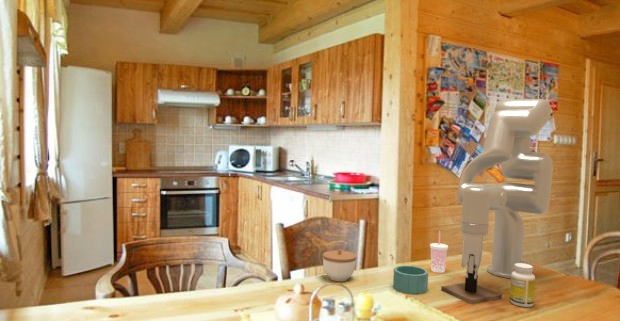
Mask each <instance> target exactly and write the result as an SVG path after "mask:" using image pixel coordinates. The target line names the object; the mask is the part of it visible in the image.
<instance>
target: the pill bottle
mask: <svg viewBox="0 0 620 321" xmlns="http://www.w3.org/2000/svg"><path fill="white" fill-rule="evenodd" d="M533 268H534V267H533V265H529V264H524V263H516V264H515V265H514V269H515V271H513V272H512V274H511V278H510V289H509V290H510V292H509V301H510V303H511V304H512V305H514V306H518V307H523V308H530V307H531V308H532V307H533V306H534V305H535V289H536V288H535V287H536V285H535V284H536V276H535V274H533V271H534V270H533Z"/></svg>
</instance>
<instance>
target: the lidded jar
mask: <svg viewBox="0 0 620 321" xmlns="http://www.w3.org/2000/svg"><path fill="white" fill-rule="evenodd" d="M356 260H357V255H356V254H355V253H353V252H352V251H347V250H342V249H341V248H339V249H337V250H328V251H325V252H323V253H322V264H323V270H324V272H325V274H326V275H327V276H328V278H329V279H330V280H332V281H335V282H345V281H348V280H349V278H351V277H352V276H353V274H354V272H355V269H356V265H357V264H356V263H357V262H356Z"/></svg>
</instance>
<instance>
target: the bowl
mask: <svg viewBox="0 0 620 321" xmlns="http://www.w3.org/2000/svg"><path fill="white" fill-rule="evenodd" d="M392 277H393V281H392V282H393V283H392V286H393V287H392V288H393V289H394V290H396V291H397V292H400V293H404V294H407V295H409V294H411V295H419V294H425V293H426V292H427V291H428V288H429V286H428V284H429V272H428V270H427V269H425V268H423V267H420V266H415V265H405V264H404V265H397V266H396V267H393V276H392Z"/></svg>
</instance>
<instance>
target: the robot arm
mask: <svg viewBox="0 0 620 321" xmlns="http://www.w3.org/2000/svg"><path fill="white" fill-rule="evenodd" d="M551 113H552V108H551V104H550V102H549V101H548V100H547V99H543V98H524V99H523V98H522V99H517V98H515V99H505V100H502V101H501V100H500V101H498V102H497V103H496V104H495V107H494V112H493V113H492V114H491V116H490V118H489V122H488V126H487V130H486V135H485V138H484V142H483V146H482V150H481V152H480V153H478V154H477V156H474V158H473V159H471V160H470V161H469V163H467V165H466V167H465V168H463V171H462V172H461V176H460V179H459V183H458V188H457V194H456V196H457V201H458V203H459V204H460V205H461V220H460V233H461V234H464V235H463V242H462V251H461V252H462V256H461V267H462V268H463V269H464V268H466V272H465V273H466V275H465V279H464V283H465V291H468V292H474V293H476V289H477V285H478V284H479V282H478V281H479V279H478V278H479V276H478V270H479V268H480V265H481V261H482V256H483V255H482V254H483V247H484V246H483V245H484V243H483V242H484V237H486V236H488V235H489V219H490V216H489V215H490V211H494V222H493V223H494V226H493V227H494V228H493V244H492V260H491V265H488V266H487V267H486V270H487V272H488V273H490V274H491V275H494V276H496V277H502V278H505V279H511V274H512V272H513V271H515V269H514V265H515V264H516V263H524V264H529V265H531V261H530V260H524V259H523V257H524V244H525V243H524V241H525V240H524V237H525V222H524V220H523V218H522V217H521V215H520V213H529V214H537V215H542V214H544V213H546V212H547V211H548V209H549V206H550V202H551V192H552V191H551V190H552V181H553V174H554V172H553V171H554V164H553V159H552V158H551V156H550V155H549V154H547V153H544V152H534V151H533V152H531V145H532V144H531V143H532V139H531V137H533V136H536V135H538V133H539V132H540V131H541V130H542V129H543V128H544V127H545V125H546V124H547V123H548V122H549V120H550V117H551ZM498 165H500V166H501V167H500V170H501V174H502V176H503V177H504V178H507V179H512V180H524V181H532V182H534V184H529V183H528V184H527V183H521V182H501V183H499V184H497V185H494V184H493V185H492V184H483V183H482V184H481V183H476V182H475V183H473V182H474V180H475V179H476V177H477V176H478V175H479V174H480V173H482V172H483V171H485V170H486V169H487V170H488V169H489V168H492V167H496V166H498ZM531 266H532V265H531ZM476 276H477V277H478V278H477V279H476Z"/></svg>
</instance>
